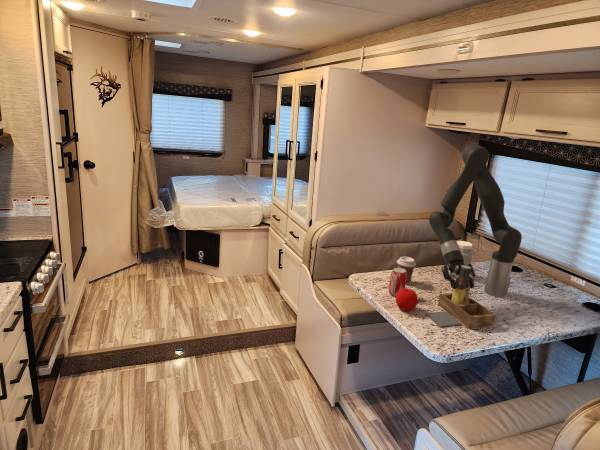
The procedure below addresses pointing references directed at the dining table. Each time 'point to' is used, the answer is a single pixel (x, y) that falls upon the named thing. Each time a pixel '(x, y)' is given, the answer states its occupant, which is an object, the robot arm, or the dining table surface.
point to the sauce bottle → (462, 286)
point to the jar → (465, 252)
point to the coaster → (443, 319)
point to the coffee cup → (407, 266)
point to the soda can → (397, 280)
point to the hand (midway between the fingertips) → (463, 288)
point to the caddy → (467, 312)
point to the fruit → (406, 299)
